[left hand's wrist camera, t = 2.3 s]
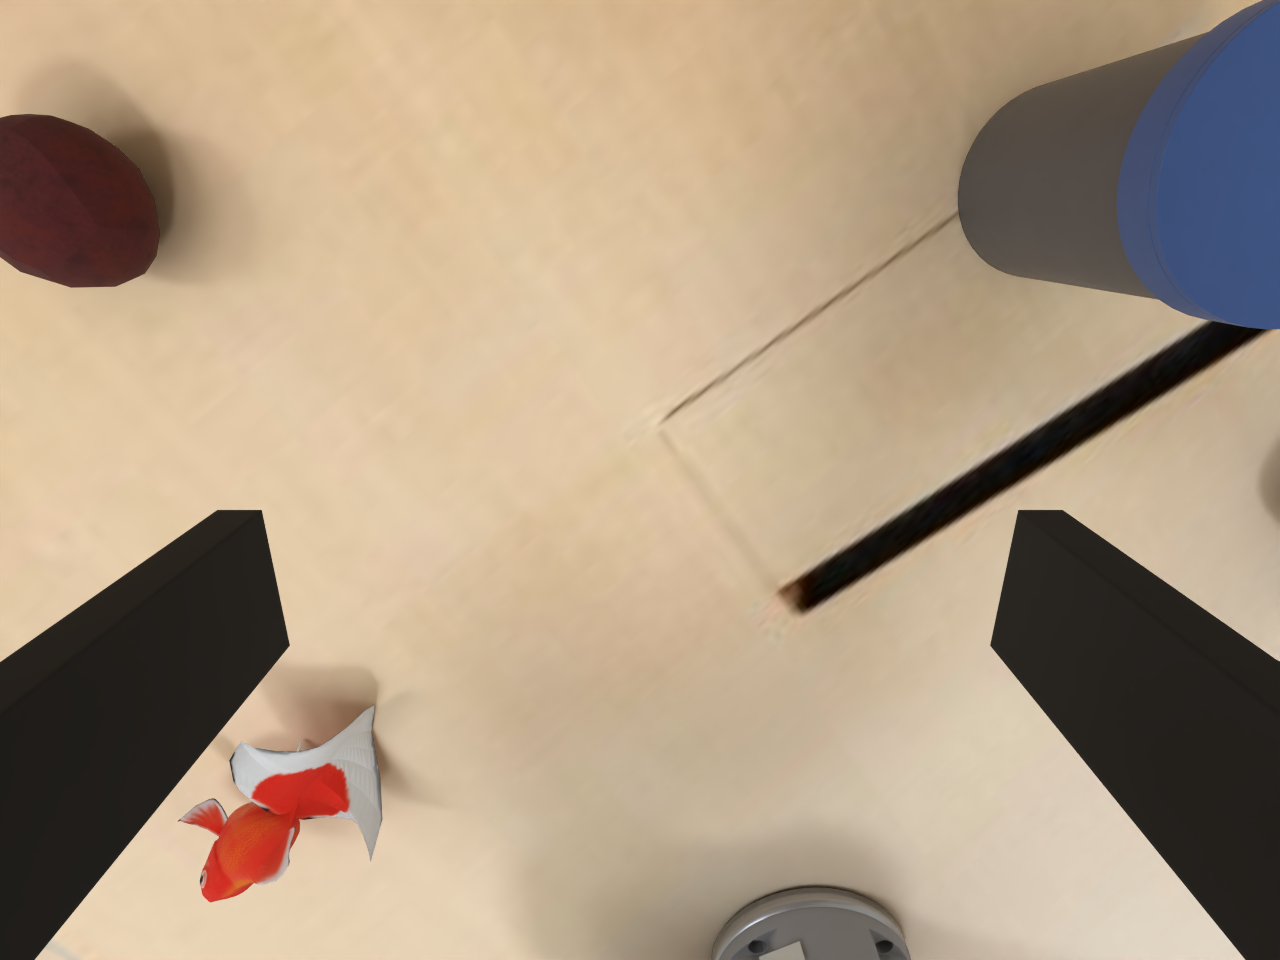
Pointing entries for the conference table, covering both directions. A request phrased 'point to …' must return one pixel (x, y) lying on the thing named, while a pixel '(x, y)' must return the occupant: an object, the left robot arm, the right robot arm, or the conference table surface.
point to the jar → (1061, 175)
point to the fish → (288, 805)
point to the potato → (72, 205)
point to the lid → (1211, 177)
